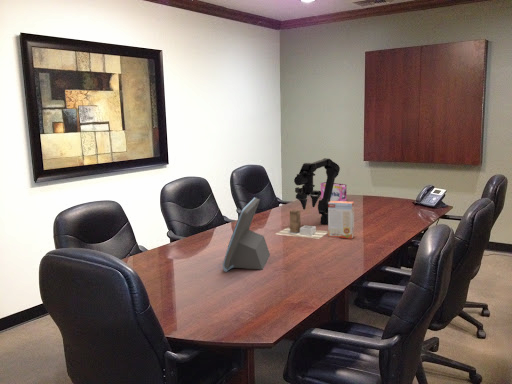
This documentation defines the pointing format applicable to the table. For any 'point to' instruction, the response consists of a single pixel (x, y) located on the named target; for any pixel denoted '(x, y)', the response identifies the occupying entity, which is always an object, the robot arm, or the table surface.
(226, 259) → the touchscreen device
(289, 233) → the board
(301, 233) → the sleeve
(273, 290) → the table surface
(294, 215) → the walnut block
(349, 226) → the cracker box
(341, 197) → the gum box
